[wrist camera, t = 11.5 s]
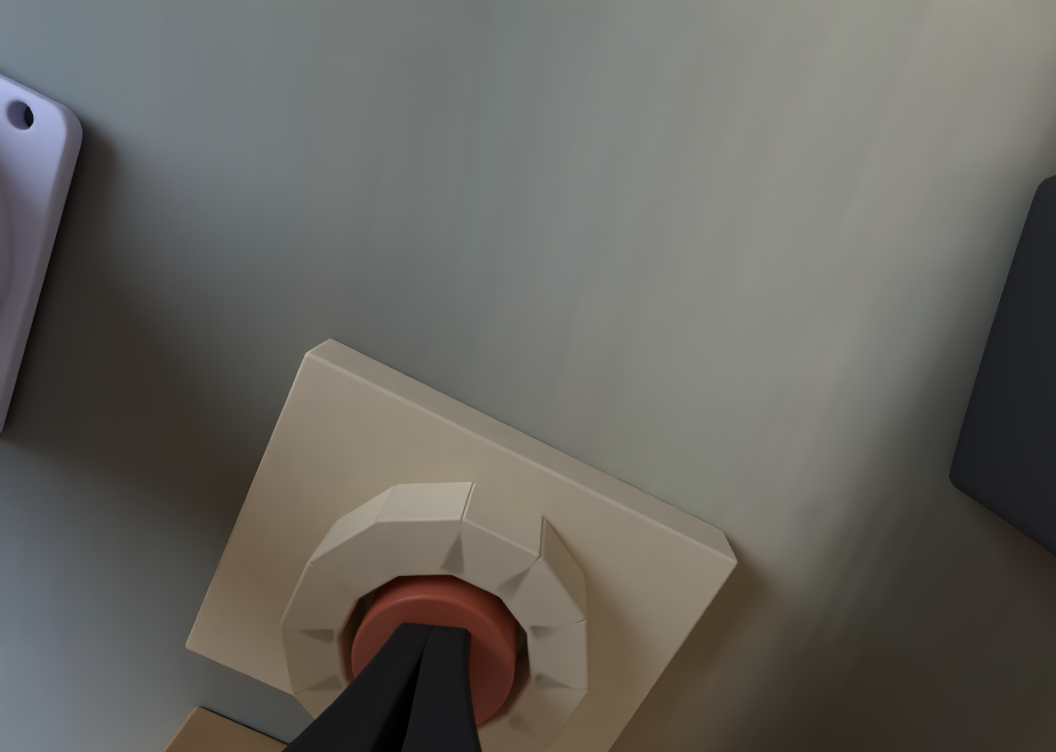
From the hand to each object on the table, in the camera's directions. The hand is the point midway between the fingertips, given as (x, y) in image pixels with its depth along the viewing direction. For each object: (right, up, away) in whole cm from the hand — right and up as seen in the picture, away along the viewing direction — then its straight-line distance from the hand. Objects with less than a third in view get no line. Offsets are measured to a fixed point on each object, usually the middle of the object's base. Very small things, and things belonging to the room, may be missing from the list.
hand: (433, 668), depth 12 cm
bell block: (0, +1, +3) cm, 3 cm away
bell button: (0, +1, +2) cm, 2 cm away
